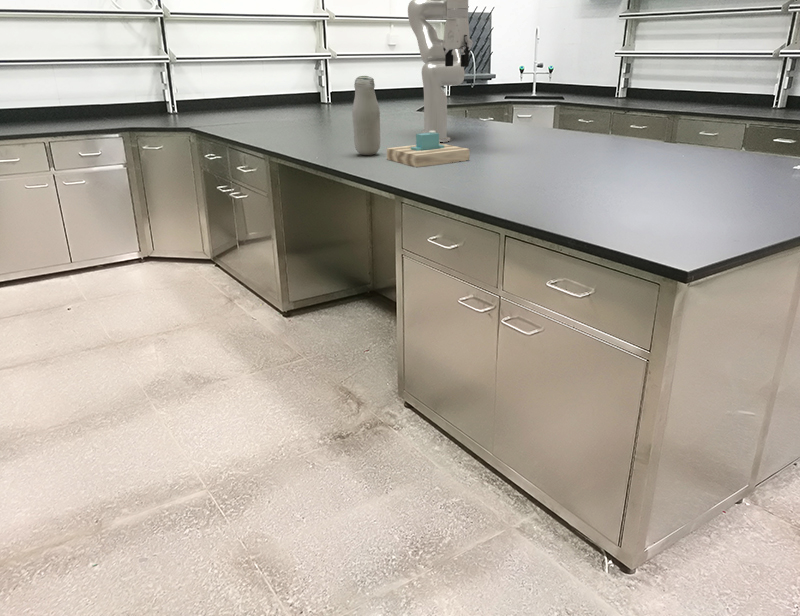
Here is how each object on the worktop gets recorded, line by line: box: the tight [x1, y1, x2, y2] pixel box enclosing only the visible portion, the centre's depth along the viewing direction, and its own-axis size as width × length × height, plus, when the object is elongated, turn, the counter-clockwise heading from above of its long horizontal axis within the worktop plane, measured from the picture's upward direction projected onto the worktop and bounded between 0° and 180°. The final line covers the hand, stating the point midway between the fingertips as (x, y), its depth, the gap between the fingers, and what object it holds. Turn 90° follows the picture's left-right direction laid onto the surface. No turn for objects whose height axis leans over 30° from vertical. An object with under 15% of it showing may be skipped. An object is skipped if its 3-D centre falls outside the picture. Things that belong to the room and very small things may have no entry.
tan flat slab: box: [386, 143, 471, 168], centre depth 223 cm, size 20×22×4 cm
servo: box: [411, 131, 444, 151], centre depth 222 cm, size 4×12×10 cm, turn 120°
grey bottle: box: [351, 75, 381, 156], centre depth 231 cm, size 10×10×28 cm
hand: (456, 66), depth 230 cm, fingers open, 9 cm apart
